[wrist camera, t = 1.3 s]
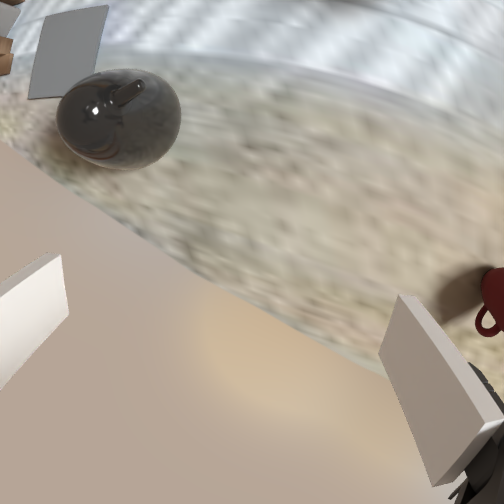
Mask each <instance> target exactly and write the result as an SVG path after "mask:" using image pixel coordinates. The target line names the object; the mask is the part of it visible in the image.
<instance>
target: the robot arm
mask: <svg viewBox="0 0 504 504" xmlns="http://www.w3.org/2000/svg"><path fill="white" fill-rule="evenodd" d="M68 315H69V310H68V304H67V298H66V291H65V284H64V277H63V269H62V261H61V255H60V254H53V253H45V254H44V255H42V256H40V257H39V258H37V259H36V260H34V261H33V262H31V263H29V264H28V265H26V266H25V267H23V268H22V269H20V270H19V271H17V272H16V273H15V274H13V275H11V276H10V277H9V278H7V279H5V280H4V281H3V282H1V283H0V390H1V389H2V388H3V387H4V385H5V384H6V383H7V382H8V381H9V380H10V378H11V377H12V376H13V375H14V374H15V373H16V372H17V370H18V369H19V368H20V367H21V366H22V365H23V364H24V362H25V361H26V360H27V359H28V358H29V357H30V356H31V355H32V354H33V352H34V351H35V350H36V349H37V348H38V347H39V346H40V345H41V344H42V343H43V341H44V340H45V339H46V338H47V337H48V336H49V335H50V334H51V333H52V332H53V331H54V330H55V329H56V328H57V327H58V325H59V324H60V323H61V322H62V321H63V320H64V319H65V318H66V317H67V316H68ZM378 354H379V356H380V359H381V361H382V363H383V365H384V367H385V370H386V372H387V374H388V377H389V379H390V381H391V383H392V386H393V388H394V390H395V392H396V395H397V397H398V400H399V402H400V404H401V407H402V409H403V412H404V414H405V417H406V419H407V422H408V424H409V426H410V429H411V431H412V434H413V437H414V439H415V441H416V444H417V447H418V449H419V452H420V455H421V457H422V460H423V463H424V466H425V468H426V471H427V474H428V477H429V479H430V482H431V485H432V487H435V486H439V485H443V484H447V483H451V482H453V481H454V480H455V479H456V478H457V477H458V476H459V475H460V474H461V473H462V472H463V471H465V473H466V475H467V478H466V479H465V481H464V482H463V483H462V484H461V485H460V486H459V487H458V488H457V489H456V490H455V491H454V492H453V493H452V494H451V495H450V496H449V498H448V499H450V500H451V499H452V498H453V497H454V496H455V495H456V494H457V493H458V496H457V498H456V500H455V503H454V504H504V403H503V402H502V400H501V399H500V397H499V396H498V395H497V393H496V392H494V389H493V387H492V386H491V385H490V384H488V380H487V379H486V378H485V376H484V375H483V374H482V372H481V371H480V370H479V369H477V368H476V367H475V366H474V365H472V364H471V363H470V362H467V361H466V360H465V358H464V357H463V356H462V354H461V353H460V352H459V350H458V349H457V348H456V346H455V345H454V344H453V343H452V341H451V340H450V339H449V337H448V336H447V335H446V333H445V332H444V331H443V330H442V328H441V327H440V326H439V325H438V323H437V322H436V321H435V319H434V318H433V317H432V316H431V315H430V313H429V312H428V311H427V310H426V308H425V307H424V306H423V305H422V303H421V302H420V301H419V300H418V299H417V297H416V296H411V295H398V297H397V300H396V304H395V307H394V310H393V313H392V316H391V319H390V322H389V325H388V328H387V331H386V334H385V337H384V340H383V342H382V345H381V348H380V351H379V353H378Z"/></svg>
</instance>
